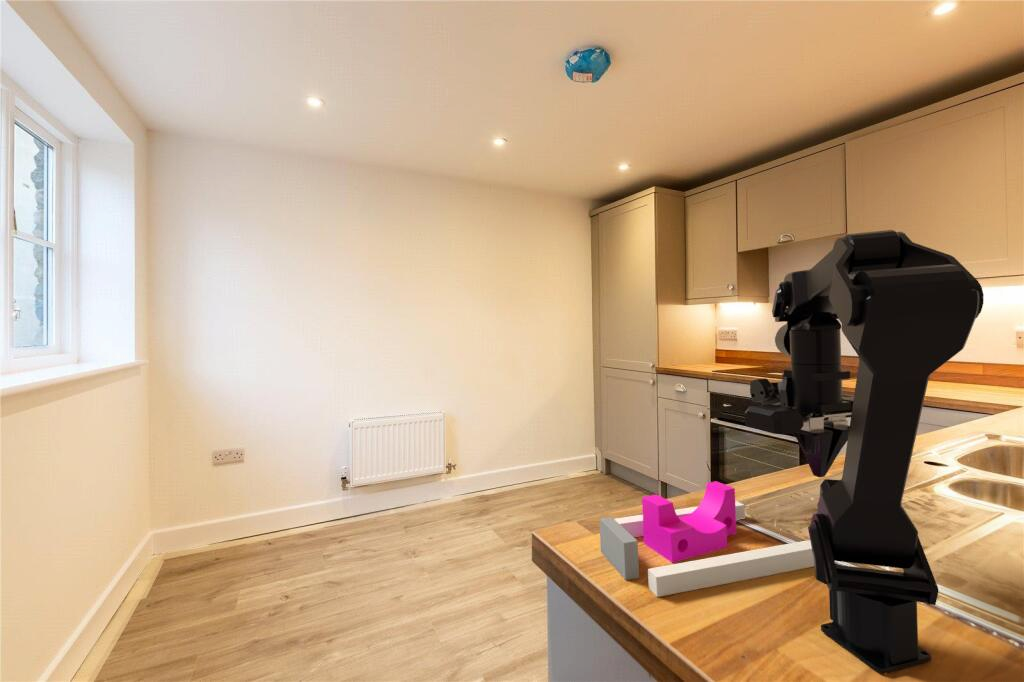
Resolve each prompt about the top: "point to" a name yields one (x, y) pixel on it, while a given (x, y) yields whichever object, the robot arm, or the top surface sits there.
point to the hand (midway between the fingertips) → (819, 476)
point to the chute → (702, 572)
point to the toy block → (690, 524)
